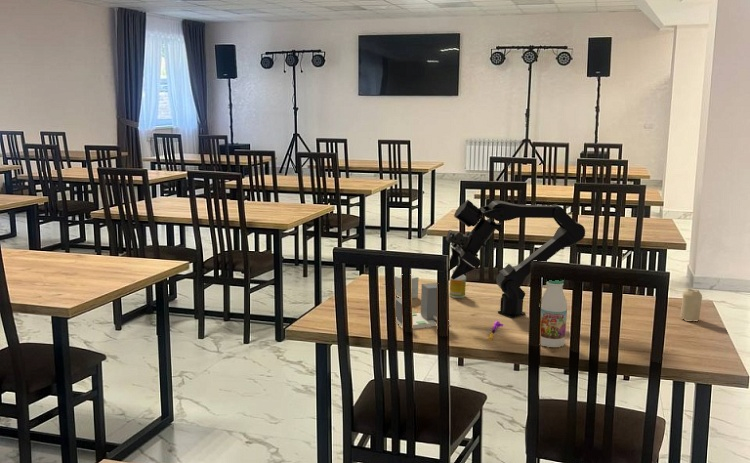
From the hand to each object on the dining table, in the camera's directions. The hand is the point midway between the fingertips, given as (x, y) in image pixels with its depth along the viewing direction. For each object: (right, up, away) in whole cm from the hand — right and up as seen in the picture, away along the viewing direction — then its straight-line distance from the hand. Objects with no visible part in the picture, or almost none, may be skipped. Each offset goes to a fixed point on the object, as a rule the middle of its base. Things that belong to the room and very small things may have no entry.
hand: (449, 274), depth 221 cm
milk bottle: (+27, -19, -21) cm, 39 cm away
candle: (+77, -15, +3) cm, 79 cm away
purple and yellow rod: (+13, -17, -12) cm, 24 cm away
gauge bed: (-9, -14, -5) cm, 18 cm away
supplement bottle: (+5, -9, +22) cm, 25 cm away
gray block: (-6, -13, -4) cm, 15 cm away
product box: (-13, -9, +20) cm, 26 cm away
